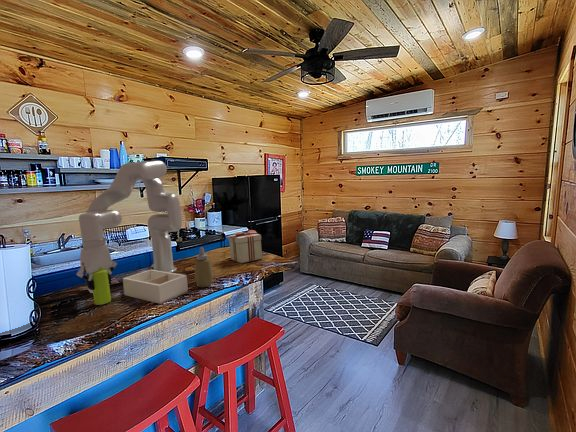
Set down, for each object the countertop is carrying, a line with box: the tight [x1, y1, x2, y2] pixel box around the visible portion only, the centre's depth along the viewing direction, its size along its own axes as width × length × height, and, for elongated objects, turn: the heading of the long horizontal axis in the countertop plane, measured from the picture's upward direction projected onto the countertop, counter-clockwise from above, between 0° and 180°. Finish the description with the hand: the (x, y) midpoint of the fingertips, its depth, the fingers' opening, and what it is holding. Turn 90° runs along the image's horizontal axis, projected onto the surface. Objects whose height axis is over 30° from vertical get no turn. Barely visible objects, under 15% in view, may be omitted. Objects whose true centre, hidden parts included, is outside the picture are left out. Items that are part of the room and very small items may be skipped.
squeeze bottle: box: [194, 246, 214, 288], centre depth 139 cm, size 8×8×18 cm
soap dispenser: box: [92, 268, 112, 306], centre depth 124 cm, size 6×7×20 cm
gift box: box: [225, 229, 263, 264], centre depth 184 cm, size 17×18×17 cm
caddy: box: [122, 269, 189, 305], centre depth 133 cm, size 24×14×8 cm, turn 60°
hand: (100, 286), depth 124 cm, fingers closed on soap dispenser, 5 cm apart
